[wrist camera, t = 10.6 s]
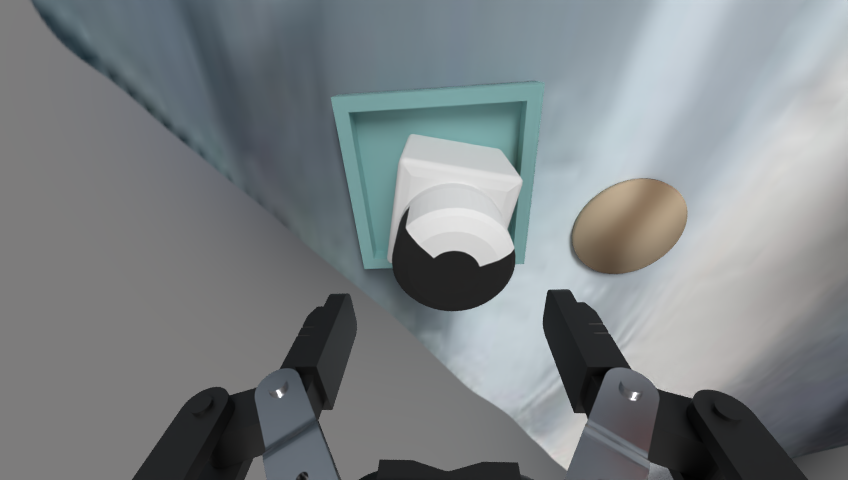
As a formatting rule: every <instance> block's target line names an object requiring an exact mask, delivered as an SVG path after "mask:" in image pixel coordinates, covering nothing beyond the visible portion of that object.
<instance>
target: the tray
mask: <svg viewBox="0 0 848 480" xmlns="http://www.w3.org/2000/svg"><path fill="white" fill-rule="evenodd" d="M544 85H545V83H544V82H539V81H530V82H515V83H501V84H486V85H472V86H458V87H443V88H429V89H414V90H400V91H386V92H371V93H357V94H342V95H337V96H334V97H331V100H332V105H333V111H334V116H335V121H336V126H337V131H338V136H339V141H340V146H341V152H342V157H343V162H344V167H345V172H346V177H347V182H348V187H349V193H350V198H351V203H352V208H353V213H354V218H355V223H356V228H357V233H358V239H359V244H360V249H361V254H362V259H363V264H364V269H379V268H393V267H392V263H389V261H388V259H387V254H388V246H389V237H390V229H391V221H392V212H393V204H394V196H395V187H396V179H397V171H398V163H399V160H400V157H401V155H402V152H403V149H404V147H405V144H406V142H407V139H408V137H409V135H411V134H416V135H422V136H428V137H434V138H439V139H445V140H451V141H457V142H463V143H468V144H474V145H480V146H486V147H491V148H497V149H500V150H501V151H502V152H503V154H504V155H505V156H506V158H507V159H508V160H509V162H510V163H511V165H512V166H513V167H514V169H515V170H516V171H517V173H518V174H519V176H520V177H521V179H522V180H523V182H522V187H521V190H520V193H519V196H518V199H517V202H516V205H515V208H514V211H513V214H512V217H511V220H510V223H509V226H508V229H507V230H508V232H509V235H510V237H511V239H512V242H513V245H514V248H515V255H516V258H515V264H524V259H525V251H526V242H527V233H528V224H529V216H530V207H531V198H532V190H533V181H534V172H535V163H536V155H537V146H538V137H539V129H540V120H541V111H542V102H543V94H544Z"/></svg>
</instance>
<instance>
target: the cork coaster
mask: <svg viewBox="0 0 848 480" xmlns="http://www.w3.org/2000/svg"><path fill="white" fill-rule="evenodd" d="M686 221H687V206H686V203H685V200H684V198H683V197H682V195H681V194H680V193H679V192H678V191H677V190H676V189H675V188H673V187H672V186H670V185H668V184H666V183H664V182H662V181H658V180H655V179H647V178H640V179H632V180H627V181H623V182H620V183H617V184H615V185H613V186H611V187H609V188H607V189H605V190H603V191H602V192H600V193H599V194H598V195H596V196H595V197H594V198H593V199H592V200H590V201H589V202H588V204H587V205H586V206H585V207H584V208H583V210H582V211H581V212H580V214H579V216H578V217H577V219H576V222H575V224H574V228H573V232H572V243H573V247H574V250H575V252H576V254H577V256H578V257H579V258H580V260H581V261H582V262H583V263H584V264H585V265H587V266H588V267H590V268H591V269H593V270H596V271H598V272H602V273H609V274H620V273H627V272H632V271H635V270H638V269H641V268H644V267H646V266H648V265H650V264H652V263H654V262H655V261H657V260H658V259H660V258H661V257H663V256H664V255H665V254H666V253H667V252H668V251H669V250H670V249H671V248H672V247H673V246H674V245H675V244H676V242H677V241H678V240H679V238H680V236H681V235H682V233H683V231H684V228H685V225H686Z"/></svg>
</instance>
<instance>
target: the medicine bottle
mask: <svg viewBox="0 0 848 480" xmlns="http://www.w3.org/2000/svg"><path fill="white" fill-rule="evenodd" d="M522 182H523V180H522V179H521V177H520V176H519V174H518V173H517V171H516V170H515V169H514V167H513V166H512V165H511V163H510V162H509V160H508V159H507V158H506V156H505V155H504V154H503V152H502V151H501V150H500V149H497V148H491V147H486V146H480V145H474V144H468V143H463V142H457V141H451V140H445V139H439V138H434V137H428V136H422V135H416V134H411V135H409V137H408V139H407V142H406V144H405V147H404V149H403V152H402V155H401V157H400V160H399V163H398V171H397V179H396V187H395V196H394V204H393V212H392V221H391V229H390V237H389V246H388V254H387V259H388V261H389V263H392V267H393V272H394V275H395V277H396V280H397V282H398V283H399V285H400V286H401V288H402V289H403V290H404V291H405V292H406V293H407V294H408V295H409V296H410V297H412V298H413V299H415V300H416V301H418V302H419V303H421V304H423V305H426V306H428V307H431V308H434V309H438V310H444V311H462V310H467V309H472V308H475V307H478V306H480V305H482V304H484V303H486V302H488V301H489V300H491V299H492V298H494V297H495V296H496V295H498V294H499V293H500V292H501V291H502V290H503V289H504V287H505V286H506V285H507V284H508V282H509V280H510V278H511V276H512V274H513V271H514V267H515V258H516V255H515V248H514V245H513V242H512V239H511V237H510V235H509V232H508V230H507V229H508V226H509V223H510V220H511V217H512V214H513V211H514V208H515V205H516V202H517V199H518V196H519V193H520V190H521V187H522Z"/></svg>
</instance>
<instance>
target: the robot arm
mask: <svg viewBox="0 0 848 480" xmlns="http://www.w3.org/2000/svg"><path fill="white" fill-rule="evenodd" d="M543 329H544V333H545V336H546V339H547V342H548V344H549V347H550V350H551V352H552V355H553V358H554V360H555V363H556V366H557V368H558V371H559V374H560V376H561V379H562V382H563V384H564V387H565V390H566V392H567V395H568V398H569V400H570V403H571V406H572V408H573V411H574V413H586V415H587V418H588V421H587V423H586V425H585V427H584V430H583V432H582V435H581V437H580V440H579V442H578V445H577V448H576V450H575V453H574V455H573V458H572V461H571V463H570V466H569V468H568V471H567V474H566V476H565V479H564V480H648V475H649V470H650V462H652V463H655V464H657V465H660V466H663V467H666V468H668V469H669V471H670V473H671V475H672V477H673V479H674V480H808V479H807V478H806V477H805V475H804V474H803V473H802V472H801V471H800V469H799V468H798V467H797V466H796V464H795V463H794V462H793V461H792V459H791V458H790V457H789V456H788V455H787V453H786V452H785V451H784V450H783V448H782V447H781V446H780V445H779V444H778V442H777V441H776V440H775V439H774V437H773V436H772V435H771V434H770V433H769V431H768V430H767V429H766V428H765V426H764V425H763V424H762V423H761V422H760V420H759V419H758V418H757V417H756V415H755V414H754V413H753V412H752V411H751V410H750V409H749V408H748V407H747V406H745V405H744V404H743V403H741V402H740V401H738V400H737V399H735V398H733V397H731V396H729V395H727V394H725V393H722V392H719V391H715V390H700V391H698V392H697V393H696V394H695V395H694V397H693V398H688V397H684V396H681V395H677V394H673V393H669V392H665V391H662V390H659V389H657V388H656V387H655V386H654V385H653V383H652V382H651V381H650V380H649V379H647V378H646V377H645V376H643V375H642V374H640V373H638V372H636V371H634V370H632V369H631V368H630V366H629V365H628V363H627V361H626V360H625V358H624V356H623V355H622V353H621V351H620V350H619V348H618V347H617V345H616V343H615V342H614V340H613V338H612V337H611V335H610V334H609V333H608V330H607V329H606V327H605V325H603V322H602V320H601V319H600V317H599V316H598V314H597V312H596V311H595V310H593V309H592V308H591V307H590V306H589V305H587V304H586V303H585V302H577V301H576V300H575V298H574V296H573V294H572V292H571V291H570V290H569V289H561V290H548V292H547V297H546V303H545V309H544V315H543ZM356 331H357V321H356V317H355V313H354V309H353V305H352V300H351V297H350V295H349V294H330V295H329V297H328V299H327V301H326V303H325V305H324V307H317V308H316V309H315V310H313V312H311V313H310V314H309V315H308V317H307V318H306V320H305V322H304V324H303V328H301V330H300V332H299V334H298V336H297V337H296V339H295V341H294V343H293V345H292V347H291V349H290V351H289V353H288V355H287V356H286V358H285V360H284V362H283V364H282V366H281V368H280V369H279V370H276V371H274V372H272V373H271V374H269V375H268V376H266V377H265V378H264V379H263V380H262V381H261V382H260V384H259V385H258V387H257V388H254V389H250V390H247V391H244V392H240V393H237V394H233V395H229V394H228V392H227V391H226V390H225V389H224V388H221V387H212V388H209V389H206V390H203V391H201V392H199V393H198V394H196V395H195V396H193V397H192V398H191V399H190V400H188V402H186V404H185V405H184V406H183V407H182V408H181V410H180V411H179V413H178V414H177V416H176V417H175V418H174V420H173V421H172V423H171V424H170V426H169V427H168V428H167V430H166V431H165V433H164V434H163V436H162V437H161V439H160V440H159V442H158V443H157V445H156V446H155V447H154V449H153V450H152V452H151V453H150V455H149V456H148V458H147V459H146V460H145V462H144V463H143V465H142V466H141V467H140V469H139V470H138V472H137V473H136V475H135V476H134V478H133V479H132V480H244V479H245V477H246V475H247V472H248V470H249V467H250V465H251V463H252V460H253V458H255V457H258V456H260V455H263V463H264V468H265V473H266V478H267V480H341V478H340V475H339V473H338V470H337V468H336V465H335V463H334V460H333V457H332V455H331V452H330V450H329V447H328V444H327V442H326V439H325V437H324V434H323V432H322V429H321V426H320V424H319V421H318V419H319V417H320V414H321V411H322V410H332V409H333V406H334V403H335V400H336V397H337V393H338V390H339V387H340V384H341V381H342V378H343V374H344V371H345V368H346V365H347V362H348V358H349V355H350V352H351V349H352V346H353V343H354V340H355V336H356ZM359 480H533V479H531V478H529V477H527V476H524V475H521V474H520V471H519V466H518V463H509V462H481V463H477V464H474V465H470V466H467V467H464V468H460V469H456V470H453V471H443V470H440V469H437V468H434V467H431V466H428V465H425V464H422V463H419V462H416V461H413V460H380V461H379V467H378V471H376V472H373V473H371V474H368V475H366V476H364V477H363V478H361V479H359Z"/></svg>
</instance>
